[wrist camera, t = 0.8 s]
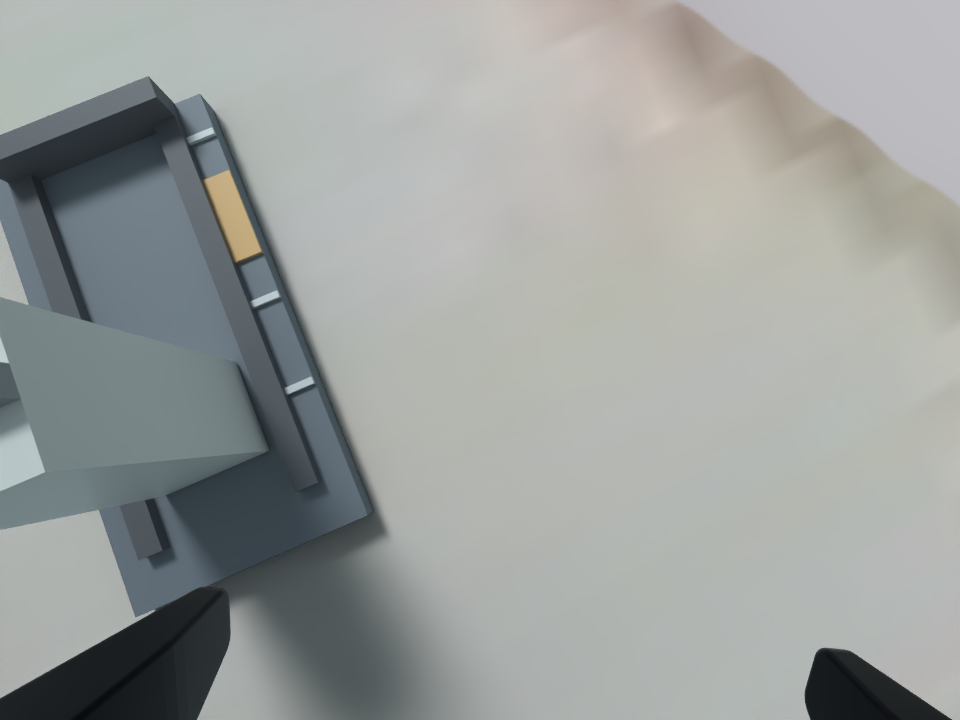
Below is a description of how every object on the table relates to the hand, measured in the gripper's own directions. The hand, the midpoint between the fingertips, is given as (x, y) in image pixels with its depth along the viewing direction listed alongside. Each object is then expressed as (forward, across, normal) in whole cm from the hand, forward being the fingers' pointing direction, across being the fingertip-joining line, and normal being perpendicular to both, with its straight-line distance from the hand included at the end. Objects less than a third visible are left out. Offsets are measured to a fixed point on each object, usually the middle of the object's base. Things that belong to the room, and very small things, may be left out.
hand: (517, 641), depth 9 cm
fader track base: (+17, +14, +1) cm, 22 cm away
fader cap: (+14, +12, +4) cm, 19 cm away
